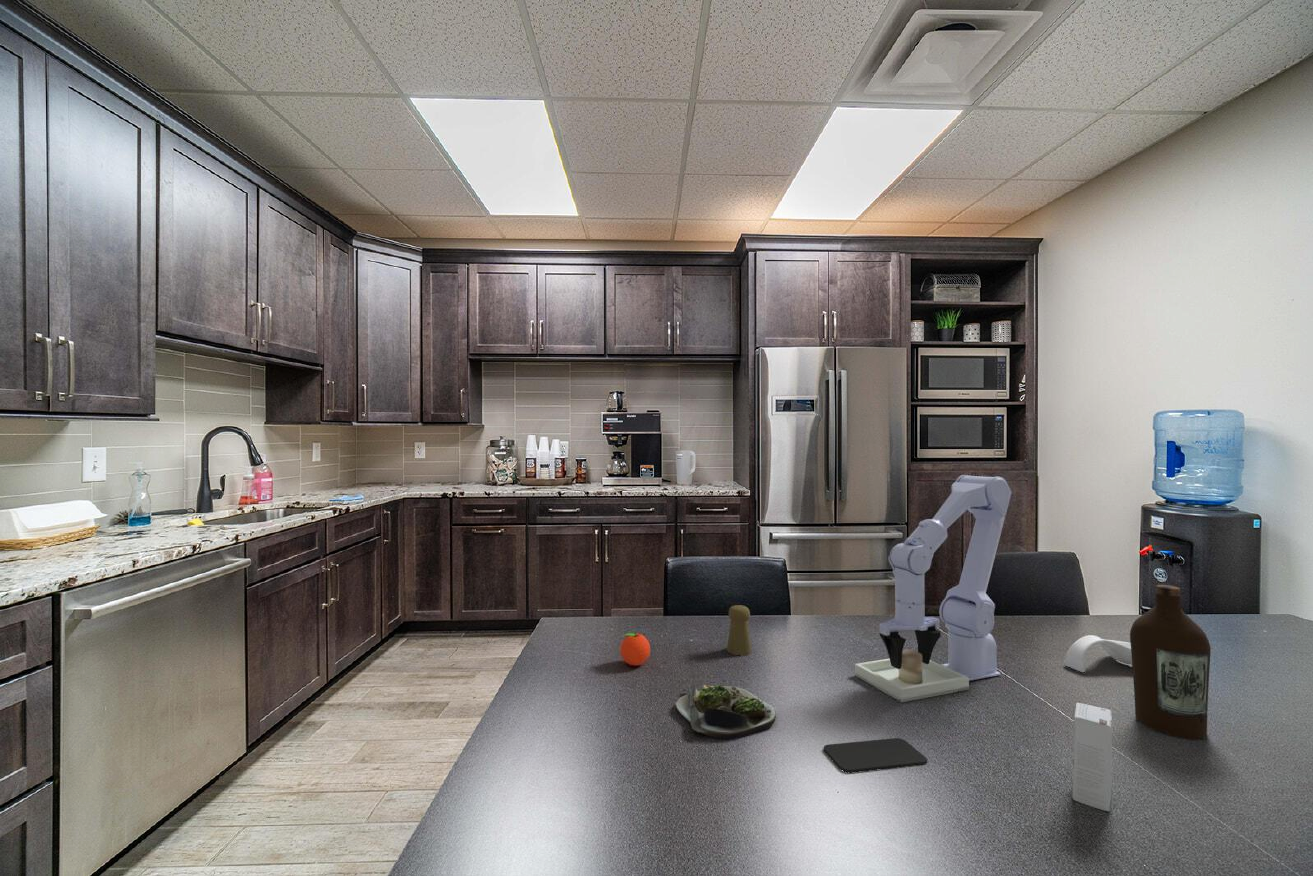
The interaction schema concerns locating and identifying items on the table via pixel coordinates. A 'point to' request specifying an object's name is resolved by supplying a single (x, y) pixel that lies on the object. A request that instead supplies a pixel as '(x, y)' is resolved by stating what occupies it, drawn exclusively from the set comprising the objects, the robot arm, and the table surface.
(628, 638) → the clementine
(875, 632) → the table surface
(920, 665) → the beige rounded cylinder
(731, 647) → the cork
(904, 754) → the phone
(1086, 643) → the white curved arch piece
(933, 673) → the tray
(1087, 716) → the skincare box
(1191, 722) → the brown liquor bottle
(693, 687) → the salad plate
